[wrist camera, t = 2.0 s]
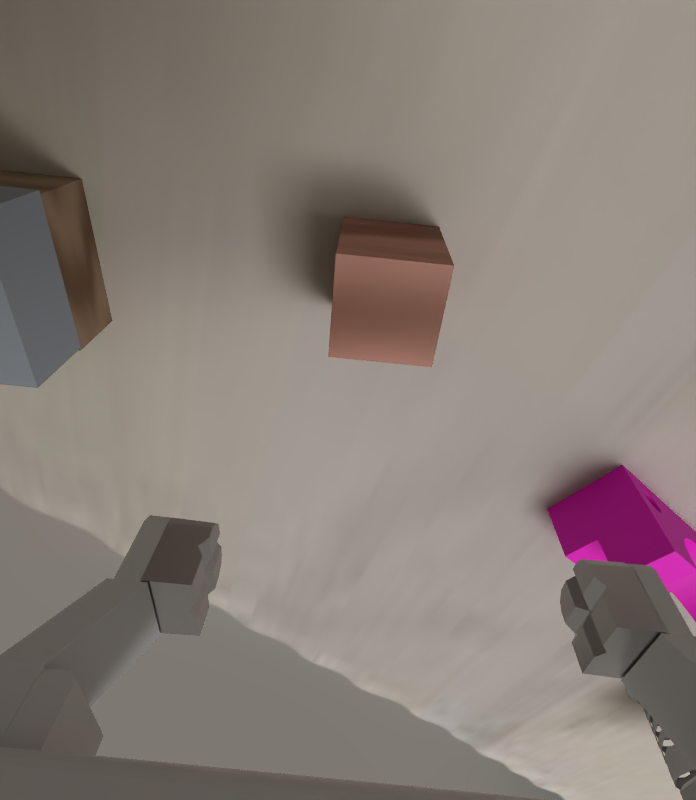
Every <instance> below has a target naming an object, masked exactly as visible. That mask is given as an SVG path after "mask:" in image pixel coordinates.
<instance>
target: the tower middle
mask: <svg viewBox="0 0 696 800" xmlns="http://www.w3.org/2000/svg"><path fill="white" fill-rule="evenodd" d="M80 348H81V346H80V342H79V338H78V335H77V331H76V327H75V323H74V320H73V316H72V312H71V308H70V304H69V301H68V297H67V293H66V289H65V286H64V282H63V278H62V274H61V270H60V267H59V263H58V259H57V255H56V252H55V248H54V244H53V240H52V237H51V233H50V229H49V225H48V221H47V218H46V214H45V210H44V206H43V203H42V199H41V195H40V191H39V190H34V189H24V188H14V187H4V186H0V384H4V385H14V386H24V387H34V388H38V387H39V386H40V385H41V384H42V383H44V382H45V381H46V380H47V379H48V378H49V377H50V376H51V375H52V374H53V373H54V372H55V371H56V370H57V369H59V368H60V367H61V366H62V365H63V364H64V363H65V362H66V361H67V360H68V359H69V358H70V357H71V356H73V355H74V354H75V353H76V352H77V351H78V350H79V349H80Z"/></svg>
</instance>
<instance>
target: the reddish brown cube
mask: <svg viewBox="0 0 696 800" xmlns="http://www.w3.org/2000/svg"><path fill="white" fill-rule="evenodd" d="M453 268H454V264H453V262H452V259H451V256H450V254H449V251H448V249H447V246H446V244H445V241H444V239H443V236H442V233H441V231H440V228H439V227H434V226H424V225H415V224H405V223H395V222H386V221H376V220H367V219H357V218H348V217H344V219H343V224H342V228H341V233H340V237H339V242H338V246H337V251H336V259H335V272H334V286H333V300H332V313H331V327H330V340H329V354H328V357H336V358H346V359H356V360H366V361H376V362H385V363H395V364H405V365H415V366H425V367H432V364H433V359H434V355H435V350H436V346H437V341H438V337H439V332H440V328H441V323H442V318H443V314H444V309H445V305H446V300H447V296H448V291H449V287H450V282H451V278H452V273H453Z"/></svg>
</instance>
